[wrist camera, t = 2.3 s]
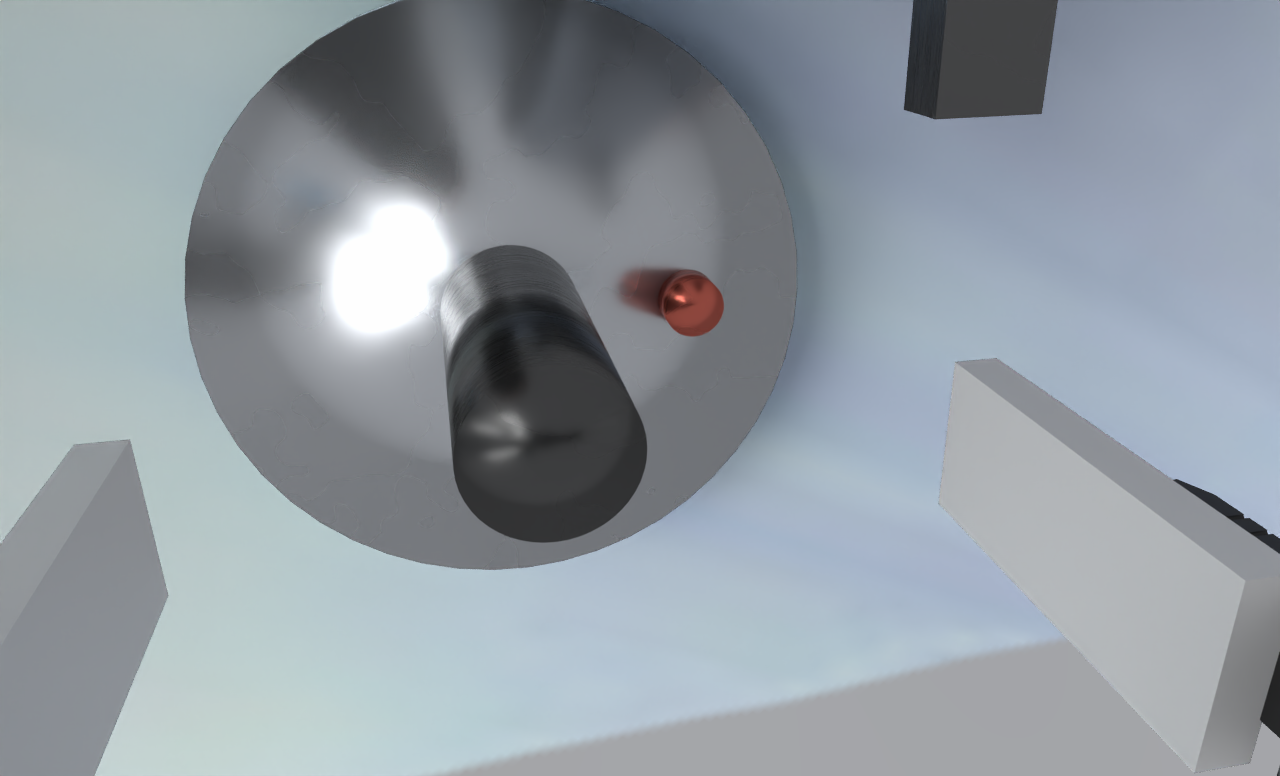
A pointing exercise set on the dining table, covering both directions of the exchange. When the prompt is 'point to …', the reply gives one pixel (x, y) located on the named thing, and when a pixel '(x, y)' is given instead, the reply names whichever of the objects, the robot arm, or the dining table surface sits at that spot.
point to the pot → (979, 57)
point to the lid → (490, 279)
